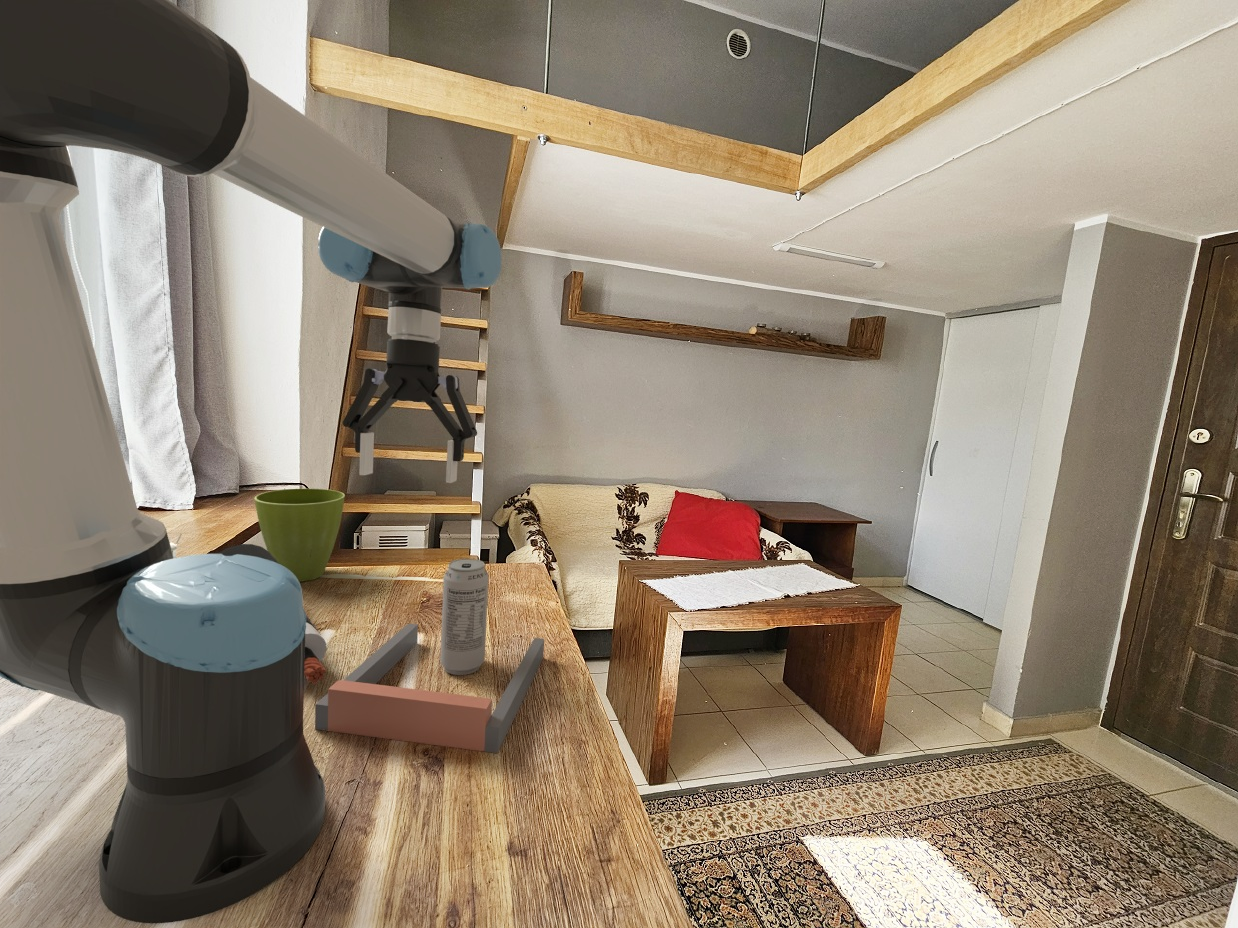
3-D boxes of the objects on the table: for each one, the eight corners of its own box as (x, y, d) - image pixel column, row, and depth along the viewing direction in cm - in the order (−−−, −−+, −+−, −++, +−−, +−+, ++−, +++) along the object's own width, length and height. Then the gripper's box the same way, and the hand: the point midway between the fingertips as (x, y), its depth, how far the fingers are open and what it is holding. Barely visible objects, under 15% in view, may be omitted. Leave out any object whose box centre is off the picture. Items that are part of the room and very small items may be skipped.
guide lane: (497, 753, 59) (499, 710, 59) (315, 728, 61) (315, 687, 60) (543, 657, 81) (545, 626, 80) (407, 642, 83) (408, 610, 82)
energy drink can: (485, 655, 80) (490, 557, 78) (482, 676, 74) (487, 571, 73) (443, 656, 79) (447, 556, 77) (436, 677, 73) (440, 570, 71)
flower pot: (307, 594, 97) (308, 507, 95) (234, 583, 100) (233, 498, 98) (359, 569, 112) (361, 493, 110) (295, 560, 114) (295, 485, 112)
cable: (295, 730, 67) (253, 678, 62) (223, 614, 89) (188, 568, 84) (371, 673, 73) (338, 620, 68) (286, 577, 95) (256, 532, 90)
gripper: (501, 349, 86) (493, 481, 88) (347, 337, 87) (344, 468, 89) (487, 344, 78) (479, 488, 81) (319, 330, 79) (316, 474, 82)
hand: (408, 478), depth 85 cm, fingers open, 13 cm apart
